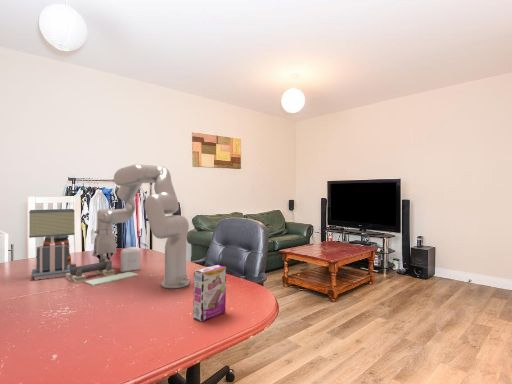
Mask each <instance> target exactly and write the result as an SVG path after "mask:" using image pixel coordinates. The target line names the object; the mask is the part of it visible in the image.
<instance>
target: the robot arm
mask: <svg viewBox="0 0 512 384" xmlns="http://www.w3.org/2000/svg"><path fill="white" fill-rule="evenodd" d="M113 182H114V183H115V184H116V186H118V187H119V188H118V190H117V192H116V195H117V197H118V199H120V200H121V201H123V202H124V203H125V205H124V207H123V208H117V209H116V208H115V209H110V208H101V209H98V210H97V212H96V230H94V234H96V235H95V237H94V242H93V252H92V254H91V255H92V257H96V258H97V259H98V260H99V259H103V255H105V256H106V257H107V258H108V260H109V261H111V257H112V256H113V255H115V254H116V253H117V247H116V246H117V245H116V243H117V242H116V237H115V234H114V233H113V228H114V227H113V225H115V224H122V223H123V224H125V223H127V222H128V221H129V220H131V218H132V217H133V215H134V213H135V210H136V202H135V197H136V195H137V193H138V191H139V190H140V188H141V186H142V184H154V186H153V187H154V188H153V189H154V193H152V194H151V193H150V194H149V195H148V196H146V198H145V201H144V210H145V211H144V212H145V216H146V217H147V222H148V224H149V228H150V231H151V233H152V235H153V236H154V237H155V238H156V239H158V240H159V239H160V240H161V239H166V241H165V246H164V280H162V281H161V282H160V286H161V287H162V288H165V289H180V288H186V287H187V286H189V285H190V282H191V279H189V278H188V274H187V241H188V233H189V229H190V228H189V227H190V226H189V220H188V219H187V218H186V217H185V216H184V215H178V214H177V215H175V214H174V213H177V212H178V211H179V208H180V206H179V201H178V197H177V193H176V191H175V188H174V185H173V182H172V177H171V173H170V170H169V169H168V168H167V167H166V166H161V165H149V164H138V163H137V164H131V165H128V166H124V167H121V168H119V169H117V170H116V172H115V173H114V174H113ZM171 214H174V215H171ZM166 215H167V216H166Z"/></svg>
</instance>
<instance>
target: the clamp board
mask: <svg viewBox="0 0 512 384" xmlns="http://www.w3.org/2000/svg"><path fill="white" fill-rule="evenodd" d="M98 261H99V262H98V263H101V262H105V259H98ZM112 263H113V262H112V260H110V261H106V269H102V270H97V271H95V273H96V274H98V275H101V276H103V277H107V276H112V275H116V270H115V269H113V268H112V266H113V265H112ZM69 265H70V269H71V268H72V267H76V275H71V273H70V272H69V273H66V276H65V279H66V280H68V281H70V282H72V283H74V284H81V283H85V281H87V280H86V279H87V276H86V275H84V274H83V273H82V266H83V265H78V266H77V264H76V263H71V264H69Z"/></svg>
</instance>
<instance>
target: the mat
mask: <svg viewBox="0 0 512 384" xmlns="http://www.w3.org/2000/svg"><path fill="white" fill-rule="evenodd" d="M137 276H139V274H138V273H135V272H132V271H126V272H121V273H118V274H115V275H112V276H107V277H106V276H103V277H99V278H94V279H89V280H86V281H85V282H84V283H85V284H88V285H90V286H92V287H95V286H99V285H103V284H107V283H111V282H112V283H113V282H116V281H120V280H121V281H122V280H125V279H129V278H134V277H137Z"/></svg>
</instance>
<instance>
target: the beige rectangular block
mask: <svg viewBox="0 0 512 384" xmlns="http://www.w3.org/2000/svg"><path fill="white" fill-rule="evenodd" d="M103 259H105V262H106V261H109V260H108V258H107V257H106V254H103ZM97 263H99V260H98V262H97Z"/></svg>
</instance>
